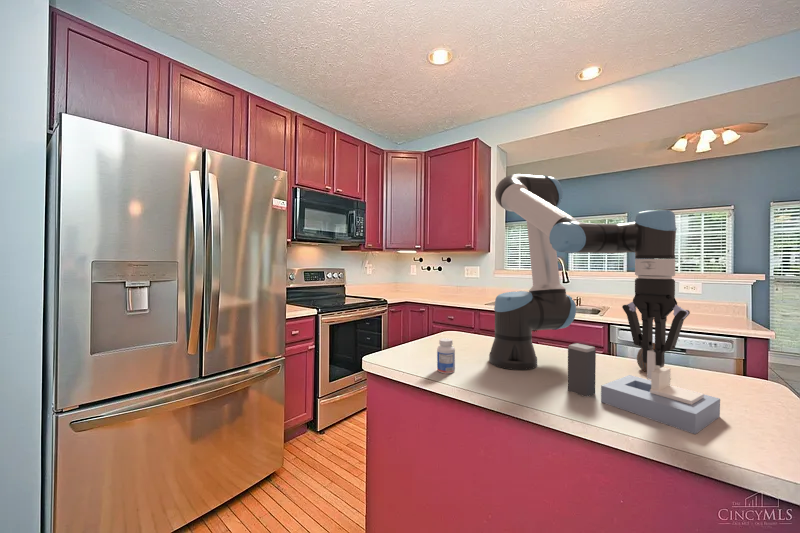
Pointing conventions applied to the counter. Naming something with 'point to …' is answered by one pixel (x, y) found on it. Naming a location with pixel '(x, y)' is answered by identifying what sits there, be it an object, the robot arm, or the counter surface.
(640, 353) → the vase
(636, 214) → the robot arm
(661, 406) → the socket board
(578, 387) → the plug
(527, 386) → the counter surface
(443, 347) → the pill bottle
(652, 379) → the shutter
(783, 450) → the counter surface
